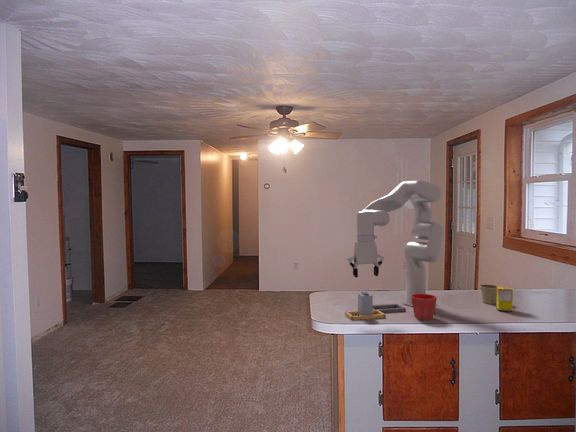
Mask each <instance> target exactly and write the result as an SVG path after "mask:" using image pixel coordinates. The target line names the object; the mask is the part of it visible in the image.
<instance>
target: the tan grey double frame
mask: <svg viewBox="0 0 576 432" xmlns="http://www.w3.org/2000/svg"><path fill="white" fill-rule="evenodd" d="M395 307H396V308H395ZM375 308H378V309H375ZM406 310H407V309H406V307H405V306H403V305H400V304H399V303H391V304H390V303H388V304H373V315H360V316H358V315H355V314H358V310H350V311H348V310H347V311H346V310H345V311H344V316H345V317H347V318H348V319H349V320H351V321H355V320H356V321H357V320H358V321H359V320H360V319H361V320H372V319H373V320H375V319H376V318H377V319H386V314H387V313H386V312H388V313H401V312H404V313H405V312H406ZM374 313H377V314H374Z"/></svg>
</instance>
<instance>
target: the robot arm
mask: <svg viewBox="0 0 576 432" xmlns="http://www.w3.org/2000/svg"><path fill="white" fill-rule="evenodd" d="M442 195H443V193H442V190H441V188H440V187H439V186H438V185H436V184H434V183H430V182H428V181H425V180H421V179H413V180H404V181H401V182H400V183H399V184H398V185H397V186H396V187H395V188H394V189H393V190H392V191H391V192H389V193H388V194H387V195H385V196H383V197H381V198H378V199H376V200H374V201H372V202H371V203H370V204H368V205H367V206H365V208H363V210H362V211H357V213H356V241H355V242H354V247H353V255H350V256H349V257H348V258H347V259H346V260H347V263H348V265H349V266H351V268H352V275H353V278H354V277H355V278H356V279H357V278H358V276H359V269H358V267H359V265H371V264H373V276H376V277H378V276H379V273H380V271H379V268H380V267H381V265H382V264H383V262H384V260H385V257H384V256H382V255H380V254H378V248H377V243H376V241H375V239H378V236H377V235H375V227H382V228H383V227H385V226H387V225H388V224H389V223H390V221H391V216H390V214H389V213H390V212H393V211H397V210H399V209H401V208H402V207H403V206H404V205H405V204H406V203H407V202H408V201H410V202H411V204H412V207H413V210H414V214H413V219H412V225H411V228H410V235H411V237H412V238H414V240H415V239H416V240H420V241H414V240H413V241H409V242H407V243H406V244H405V245H404V249H403V252H404V259H405V299H402V303H403V304H404V305H406V306H409V307H410V306H411V307H413V305H412V299H411V295H413V294H426V287H427V285H426V283H427V281H426V278H427V277H426V274H427V271H426V265H425V264H424V262H425V263H435V262H437V261H438V259H439V258H440V255H441V249H442V245H443V239H444V226H443V225H442V224H441V223H440V222H438V221H432V214H433V213H432V209H431V207H430V205H429V203H431V204H432V203H438V202H439V201H440V200H441V198H442V197H443V196H442ZM421 240H422V241H421ZM423 240H424V241H427V242H424V241H423ZM378 258H379V259H378Z"/></svg>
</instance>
